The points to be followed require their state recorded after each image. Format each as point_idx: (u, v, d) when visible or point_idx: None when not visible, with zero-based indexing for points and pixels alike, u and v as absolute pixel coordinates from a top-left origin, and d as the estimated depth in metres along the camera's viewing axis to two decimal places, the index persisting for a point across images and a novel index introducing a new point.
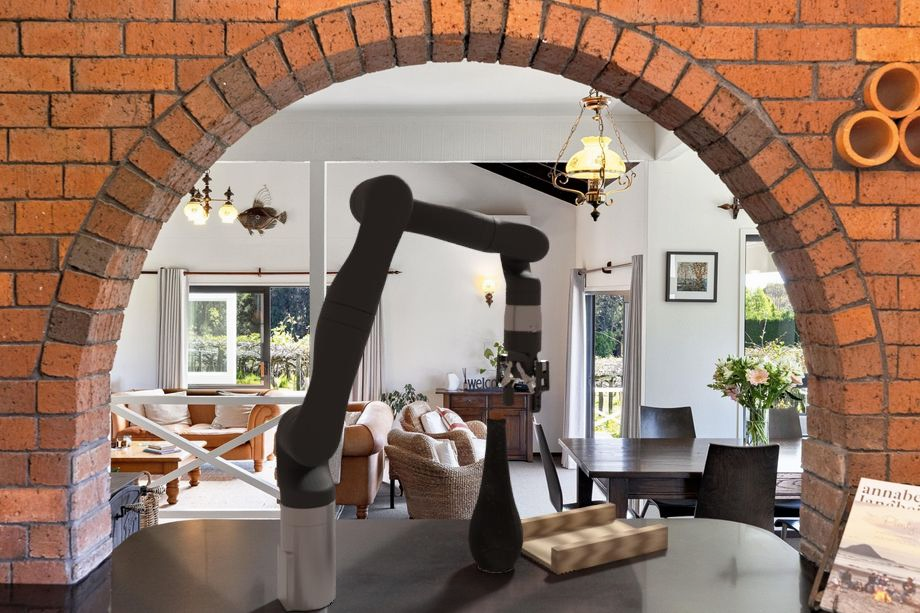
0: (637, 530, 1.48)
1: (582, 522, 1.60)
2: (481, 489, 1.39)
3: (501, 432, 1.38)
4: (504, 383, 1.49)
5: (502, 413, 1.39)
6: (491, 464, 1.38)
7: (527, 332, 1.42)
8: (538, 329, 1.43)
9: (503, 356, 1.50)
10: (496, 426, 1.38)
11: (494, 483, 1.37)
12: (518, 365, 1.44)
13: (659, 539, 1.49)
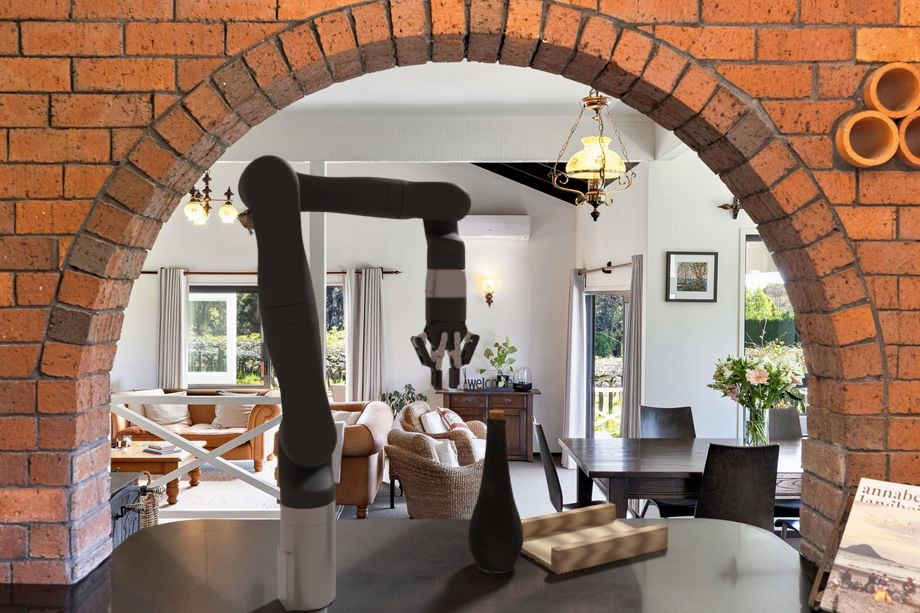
0: (637, 530, 1.48)
1: (582, 522, 1.60)
2: (481, 489, 1.39)
3: (501, 432, 1.38)
4: (441, 365, 1.32)
5: (502, 413, 1.39)
6: (491, 464, 1.38)
7: (466, 298, 1.34)
8: None
9: (420, 337, 1.30)
10: (496, 426, 1.38)
11: (494, 483, 1.37)
12: (457, 335, 1.33)
13: (659, 539, 1.49)
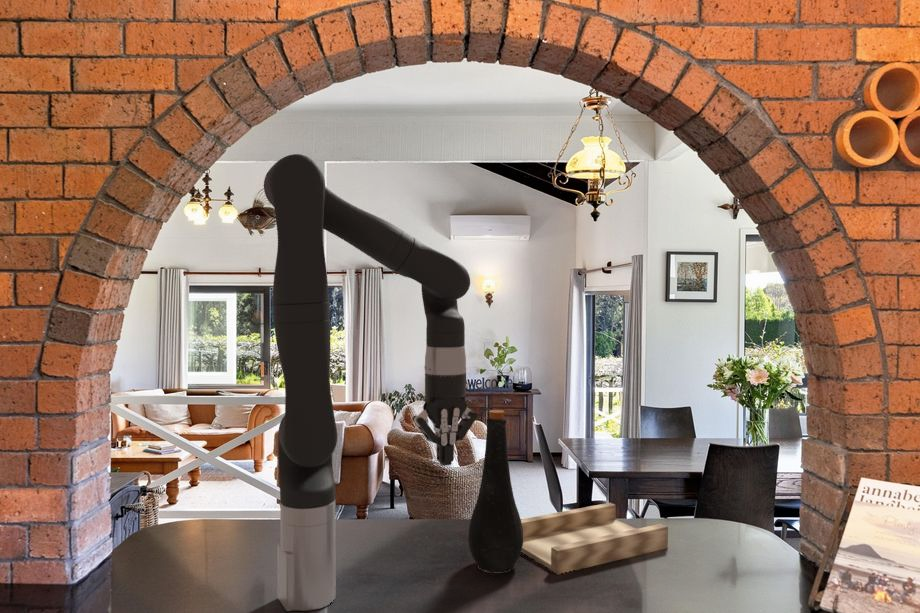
0: (637, 530, 1.48)
1: (582, 522, 1.60)
2: (481, 489, 1.39)
3: (501, 432, 1.38)
4: (447, 440, 1.33)
5: (502, 413, 1.39)
6: (491, 464, 1.38)
7: None
8: None
9: (421, 416, 1.31)
10: (496, 426, 1.38)
11: (494, 483, 1.37)
12: (456, 411, 1.33)
13: (659, 539, 1.49)
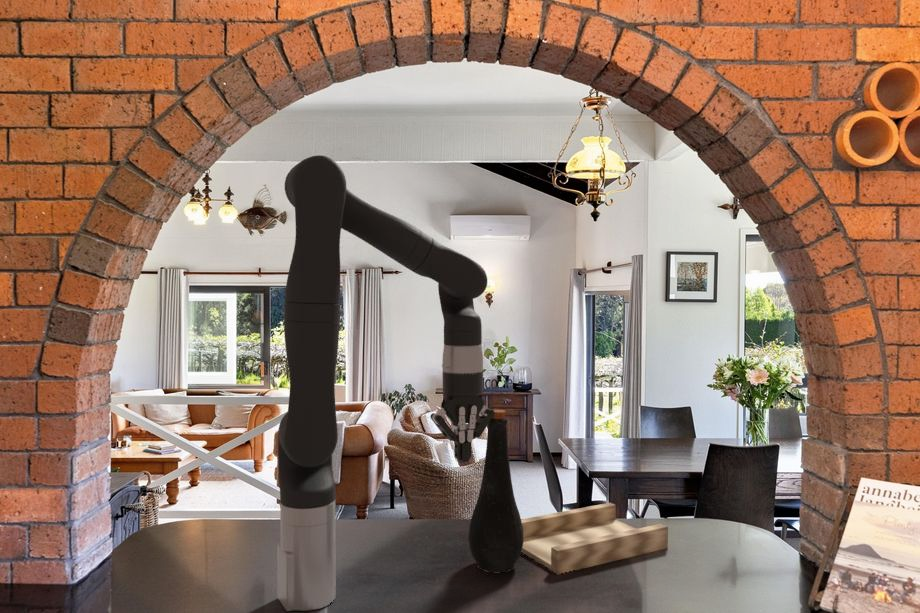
0: (637, 530, 1.48)
1: (582, 522, 1.60)
2: (482, 489, 1.39)
3: (502, 432, 1.38)
4: (464, 438, 1.35)
5: (503, 413, 1.39)
6: (492, 464, 1.38)
7: None
8: None
9: (439, 414, 1.33)
10: (497, 426, 1.38)
11: (495, 483, 1.37)
12: (474, 408, 1.35)
13: (659, 539, 1.49)
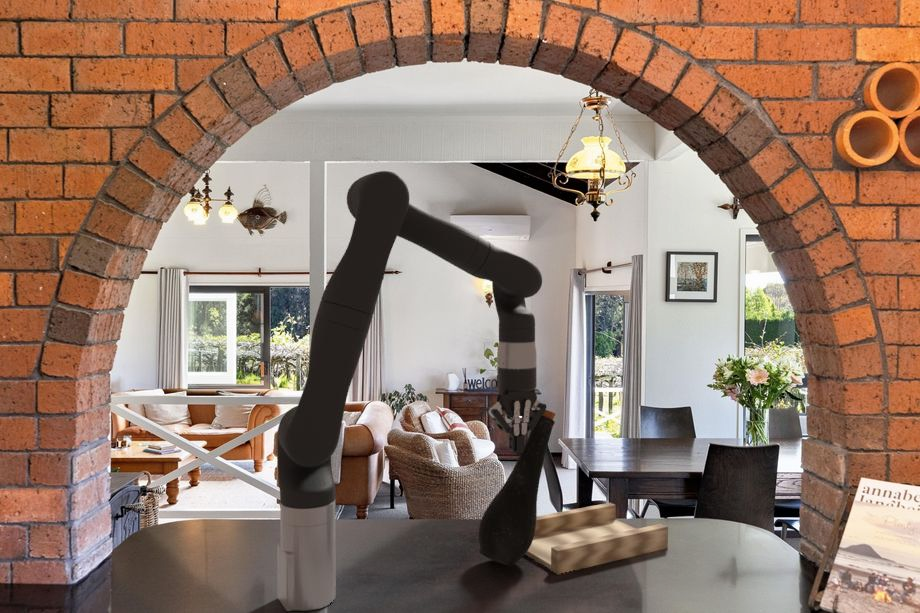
0: (637, 530, 1.48)
1: (582, 522, 1.60)
2: (510, 478, 1.42)
3: (547, 430, 1.43)
4: (519, 431, 1.41)
5: (553, 414, 1.44)
6: (528, 456, 1.42)
7: None
8: None
9: (495, 408, 1.39)
10: (545, 423, 1.43)
11: (525, 475, 1.41)
12: (528, 403, 1.41)
13: (659, 539, 1.49)
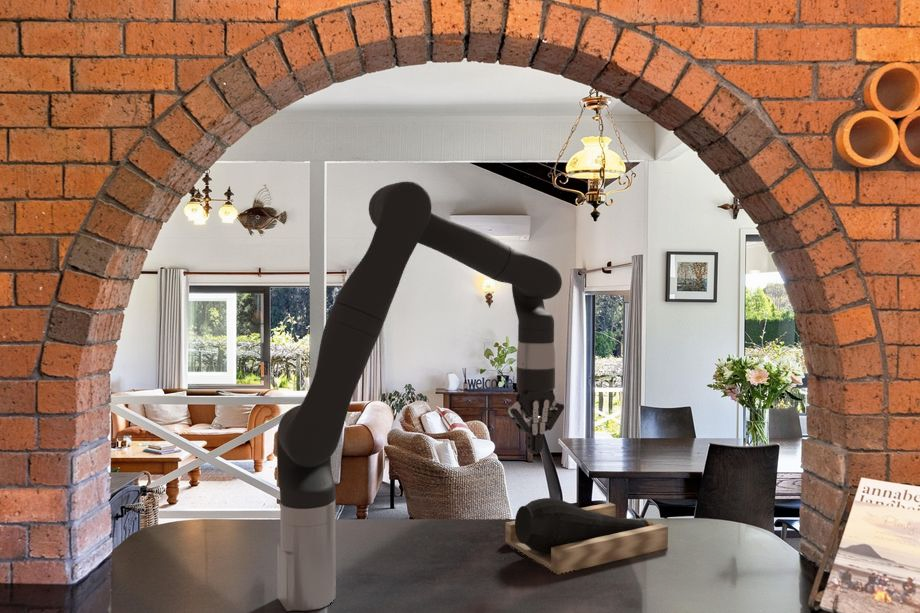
0: (637, 530, 1.48)
1: None
2: (592, 512, 1.48)
3: None
4: (537, 430, 1.43)
5: None
6: (616, 522, 1.48)
7: None
8: None
9: (514, 408, 1.41)
10: None
11: (604, 524, 1.46)
12: (546, 402, 1.43)
13: (659, 539, 1.49)
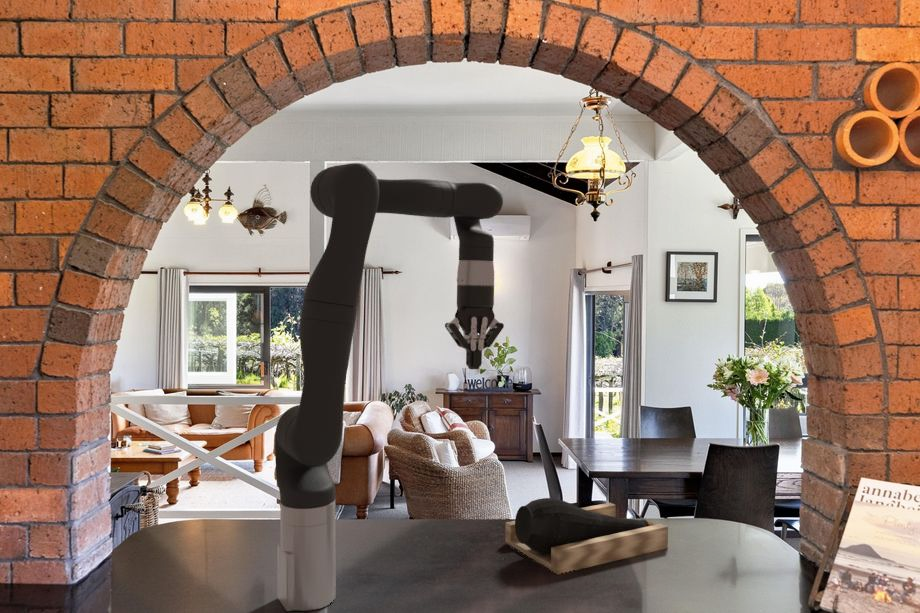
0: (637, 530, 1.48)
1: None
2: (592, 512, 1.48)
3: None
4: (475, 346, 1.47)
5: None
6: (616, 522, 1.48)
7: None
8: None
9: (453, 323, 1.45)
10: None
11: (604, 524, 1.46)
12: (485, 319, 1.47)
13: (659, 539, 1.49)
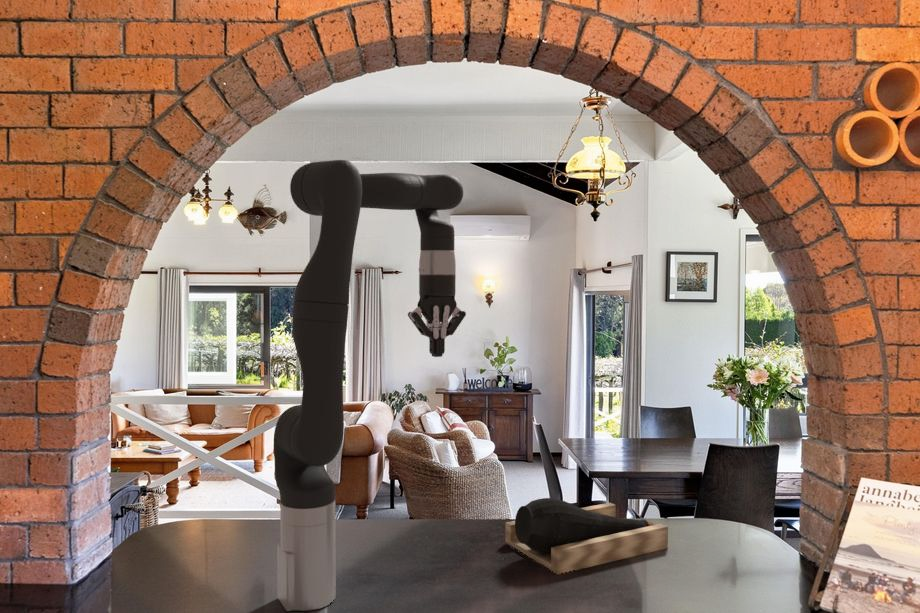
0: (637, 530, 1.48)
1: None
2: (592, 512, 1.48)
3: None
4: (438, 334, 1.51)
5: None
6: (616, 522, 1.48)
7: (455, 276, 1.52)
8: None
9: (415, 312, 1.49)
10: None
11: (604, 524, 1.46)
12: (447, 308, 1.51)
13: (659, 539, 1.49)
